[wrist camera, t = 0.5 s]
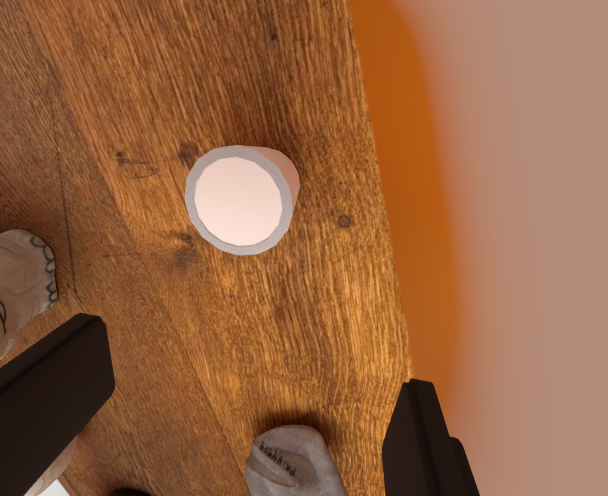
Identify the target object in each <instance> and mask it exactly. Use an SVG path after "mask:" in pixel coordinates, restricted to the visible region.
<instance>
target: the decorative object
mask: <svg viewBox="0 0 608 496" xmlns="http://www.w3.org/2000/svg"><path fill="white" fill-rule="evenodd" d="M77 442H78V434H77V436H76V437H75V438H74V439H73V440H72V441H71V442H70V444H69V445H68V446H67V447H66V448H65V449H64V450H63V452H62V453H61V454H60V455H59V456H58V457H57V458H56V460H55V461H54V462H53V463H52V464H51V465H50V467H49V468H48V469H47V470H46V471H45V472H44V473H43V475H42V476H41V477H40V478H39V479H38V480H37V481H36V483H35V484H34V485H33V486H32V487H31V488H30V489H29V491H28V492H27V493H26V494H25V495H24V496H37V495H39V494H40V493H42V492H43V491H44V490H45V489H46V488H48V487H49V486H50V485H51V484H52V483H53V482H54V481H55V480H56V479H57V478H58V477H59V476H60V475H61V474H62V472H63V471H64V470H65V469H66V467H67V466H68V464H69V462H70V461H71V459H72V457H73V454H74V452H75V449H76V446H77Z"/></svg>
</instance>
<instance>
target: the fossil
mask: <svg viewBox="0 0 608 496" xmlns="http://www.w3.org/2000/svg"><path fill="white" fill-rule="evenodd" d="M252 447H253V449H252V451H251V453H250V455H249V457H248V458H247V460H246V462H245V473H246V479H247V482H248V487H249V490H250V493H251V495H252V496H348V494H347V492H346V489H345V487H344V484H343V481H342V478H341V476H340V472H339V470H338V467H337V466H336V465H335V464H334V462H333V460H332V458H331V455H330V453H329V451H328V449H327V447H326V444H325V442H324V440H323V438H322V436H321V434H320V433H319V432H318V431H317V430H315V429H314V428H313V427H309V426H305V425H296V424H293V425H282V426H280V427H276V428H273V429H271V430H269V431H267V432H265V433H263V434H261V435H260V436H258V437H257V438H256V439H255V440H253V442H252Z"/></svg>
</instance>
